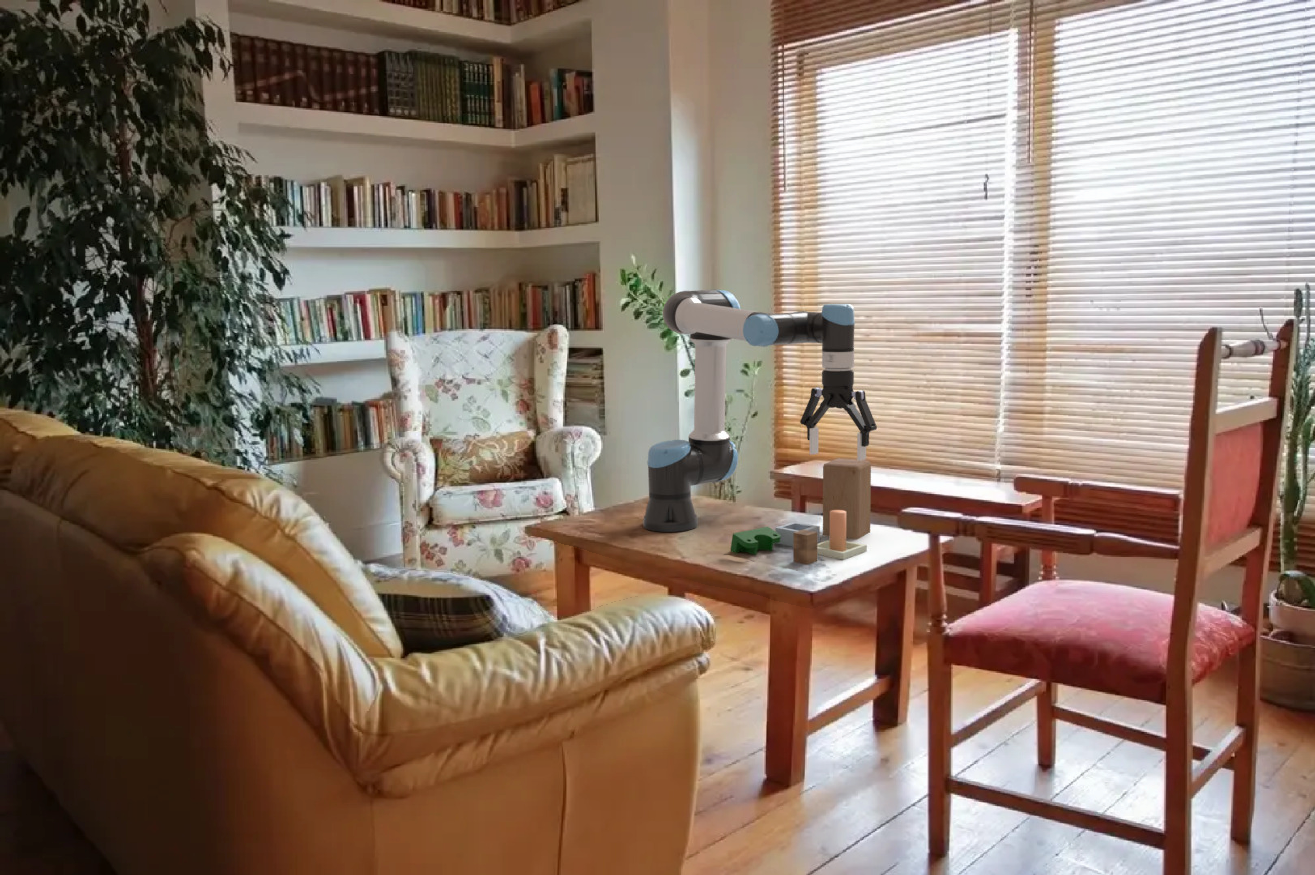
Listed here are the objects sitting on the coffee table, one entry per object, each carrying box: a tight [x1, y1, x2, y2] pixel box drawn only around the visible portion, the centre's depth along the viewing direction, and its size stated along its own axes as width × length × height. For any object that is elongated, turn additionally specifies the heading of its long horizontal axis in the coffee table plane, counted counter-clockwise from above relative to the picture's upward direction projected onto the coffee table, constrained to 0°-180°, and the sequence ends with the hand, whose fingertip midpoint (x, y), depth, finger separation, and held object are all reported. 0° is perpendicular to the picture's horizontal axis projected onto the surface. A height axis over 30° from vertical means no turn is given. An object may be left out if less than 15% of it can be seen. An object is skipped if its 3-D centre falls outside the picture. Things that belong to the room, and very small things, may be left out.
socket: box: [774, 521, 821, 547], centre depth 262 cm, size 8×8×5 cm
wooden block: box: [822, 457, 872, 540], centre depth 270 cm, size 10×10×20 cm
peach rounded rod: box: [829, 510, 847, 552], centre depth 252 cm, size 4×4×10 cm
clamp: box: [730, 526, 781, 555], centre depth 255 cm, size 12×6×9 cm, turn 117°
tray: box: [817, 539, 868, 560], centre depth 253 cm, size 10×10×2 cm
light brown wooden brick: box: [792, 530, 818, 565], centre depth 245 cm, size 4×4×8 cm
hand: (837, 456), depth 249 cm, fingers open, 13 cm apart
